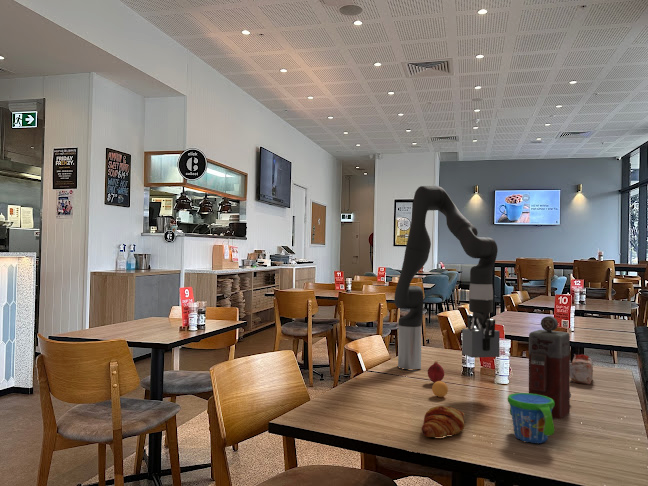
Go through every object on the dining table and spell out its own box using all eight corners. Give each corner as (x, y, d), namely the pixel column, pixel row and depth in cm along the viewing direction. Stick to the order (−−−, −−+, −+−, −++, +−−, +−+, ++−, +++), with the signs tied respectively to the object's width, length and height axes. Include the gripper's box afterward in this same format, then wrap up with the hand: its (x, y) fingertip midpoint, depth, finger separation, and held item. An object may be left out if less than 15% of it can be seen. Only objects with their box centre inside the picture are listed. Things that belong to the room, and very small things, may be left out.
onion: (445, 386, 175) (446, 363, 176) (429, 385, 176) (429, 362, 176) (442, 381, 181) (442, 359, 182) (426, 381, 181) (426, 359, 182)
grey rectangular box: (462, 353, 167) (462, 328, 167) (488, 352, 169) (489, 328, 169) (471, 357, 161) (471, 331, 161) (499, 356, 163) (499, 331, 163)
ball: (429, 395, 163) (429, 379, 164) (443, 394, 165) (443, 379, 165) (436, 399, 159) (436, 383, 159) (450, 398, 160) (450, 382, 160)
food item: (593, 386, 178) (593, 358, 179) (568, 383, 182) (568, 356, 183) (593, 378, 190) (593, 352, 191) (570, 375, 194) (570, 350, 195)
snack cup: (497, 428, 132) (497, 389, 132) (536, 428, 133) (536, 389, 133) (524, 451, 117) (524, 407, 117) (568, 451, 117) (568, 407, 117)
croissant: (451, 431, 140) (439, 403, 143) (483, 421, 135) (470, 392, 137) (415, 452, 123) (402, 419, 126) (449, 441, 118) (435, 407, 121)
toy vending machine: (525, 414, 145) (525, 316, 146) (538, 405, 153) (538, 313, 154) (558, 421, 139) (558, 319, 140) (569, 412, 147) (569, 316, 148)
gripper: (460, 295, 172) (459, 344, 171) (481, 299, 158) (481, 353, 157) (480, 295, 173) (479, 344, 173) (503, 299, 159) (503, 352, 159)
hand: (480, 348), depth 165 cm, fingers closed on grey rectangular box, 6 cm apart
